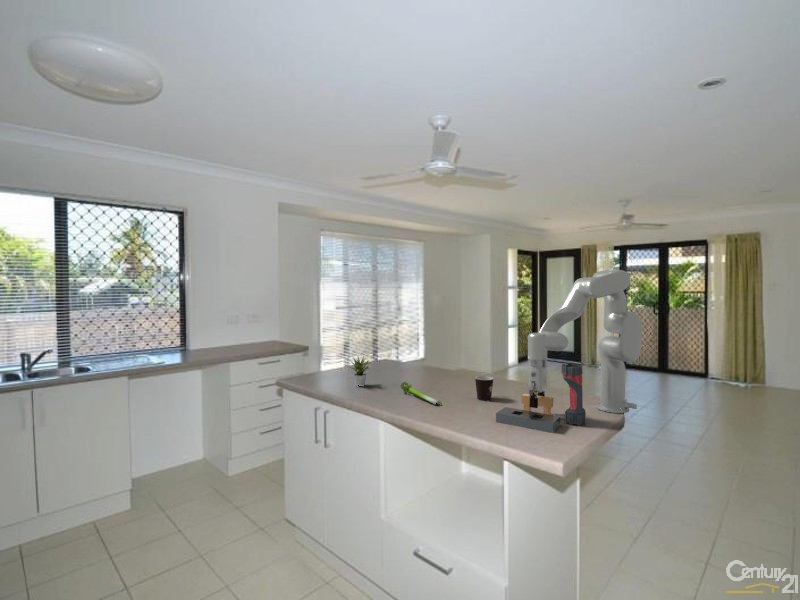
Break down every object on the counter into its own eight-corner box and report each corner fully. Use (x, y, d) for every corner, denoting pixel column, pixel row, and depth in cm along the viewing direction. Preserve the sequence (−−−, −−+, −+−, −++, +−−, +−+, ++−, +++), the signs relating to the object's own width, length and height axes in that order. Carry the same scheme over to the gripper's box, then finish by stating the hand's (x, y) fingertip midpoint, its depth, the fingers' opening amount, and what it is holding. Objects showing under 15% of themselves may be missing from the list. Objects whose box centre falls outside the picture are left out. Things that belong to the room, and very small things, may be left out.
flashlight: (556, 421, 165) (557, 363, 164) (571, 419, 168) (572, 362, 167) (572, 427, 157) (572, 367, 157) (587, 424, 161) (588, 365, 160)
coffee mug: (482, 402, 193) (482, 380, 192) (471, 397, 200) (471, 377, 200) (502, 399, 198) (502, 378, 198) (490, 394, 206) (490, 374, 205)
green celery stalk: (431, 411, 186) (396, 391, 211) (443, 410, 190) (407, 391, 215) (433, 397, 186) (398, 380, 211) (445, 397, 190) (409, 380, 215)
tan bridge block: (553, 417, 170) (553, 397, 170) (551, 419, 168) (551, 399, 167) (524, 412, 177) (524, 393, 177) (521, 414, 174) (521, 395, 174)
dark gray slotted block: (560, 425, 160) (560, 416, 160) (553, 432, 152) (553, 423, 152) (505, 415, 173) (505, 407, 173) (495, 421, 165) (495, 413, 165)
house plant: (372, 389, 218) (372, 358, 217) (346, 389, 218) (345, 358, 217) (374, 383, 232) (374, 353, 232) (349, 383, 232) (349, 354, 232)
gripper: (540, 367, 162) (539, 411, 163) (552, 360, 176) (552, 401, 177) (521, 365, 167) (521, 408, 167) (534, 359, 181) (534, 398, 181)
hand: (537, 404), depth 172 cm, fingers open, 8 cm apart
